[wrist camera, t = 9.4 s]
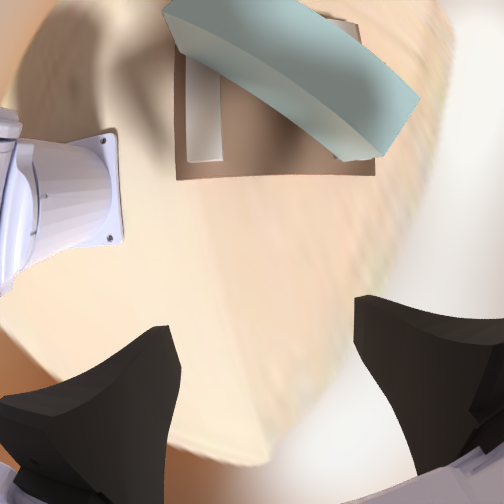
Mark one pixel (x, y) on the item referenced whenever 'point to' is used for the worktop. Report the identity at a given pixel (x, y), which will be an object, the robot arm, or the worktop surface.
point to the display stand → (244, 130)
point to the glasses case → (298, 69)
